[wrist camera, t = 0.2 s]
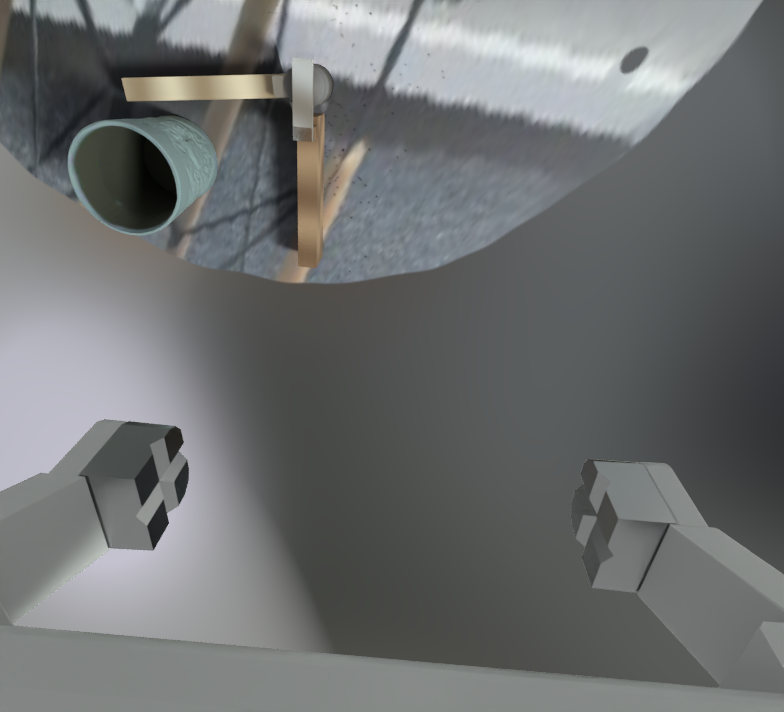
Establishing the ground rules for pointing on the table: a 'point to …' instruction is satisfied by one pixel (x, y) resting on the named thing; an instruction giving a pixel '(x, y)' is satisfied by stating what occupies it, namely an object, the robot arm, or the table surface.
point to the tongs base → (224, 87)
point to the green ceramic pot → (141, 170)
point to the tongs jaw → (308, 164)
